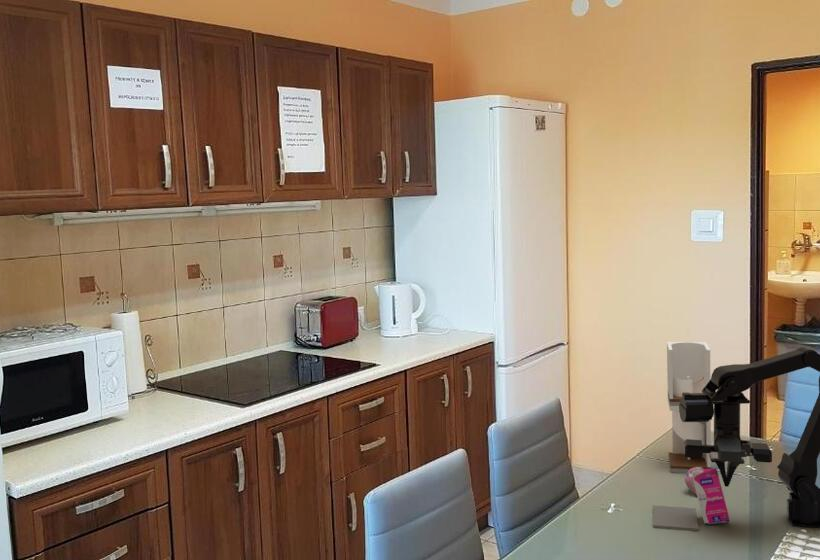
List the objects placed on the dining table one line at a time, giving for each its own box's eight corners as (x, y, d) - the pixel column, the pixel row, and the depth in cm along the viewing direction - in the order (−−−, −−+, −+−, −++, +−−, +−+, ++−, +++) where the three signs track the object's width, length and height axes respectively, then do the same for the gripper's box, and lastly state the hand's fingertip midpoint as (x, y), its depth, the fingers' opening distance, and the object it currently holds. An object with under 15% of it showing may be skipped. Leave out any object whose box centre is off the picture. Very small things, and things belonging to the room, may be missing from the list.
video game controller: (703, 489, 206) (691, 465, 208) (719, 485, 204) (707, 460, 205) (691, 502, 199) (678, 476, 200) (707, 497, 196) (694, 471, 197)
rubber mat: (695, 510, 189) (695, 508, 189) (698, 531, 178) (698, 528, 178) (653, 507, 192) (652, 505, 192) (653, 527, 181) (653, 525, 181)
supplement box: (704, 526, 181) (692, 479, 180) (703, 516, 186) (691, 470, 186) (730, 522, 179) (717, 475, 178) (728, 512, 184) (716, 466, 184)
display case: (668, 458, 227) (666, 341, 223) (707, 460, 224) (706, 342, 220) (670, 472, 216) (669, 349, 212) (711, 474, 213) (710, 350, 209)
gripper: (686, 429, 174) (685, 495, 176) (776, 433, 169) (775, 502, 170) (683, 415, 185) (683, 478, 187) (768, 419, 179) (767, 484, 181)
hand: (726, 485), depth 181 cm, fingers closed
